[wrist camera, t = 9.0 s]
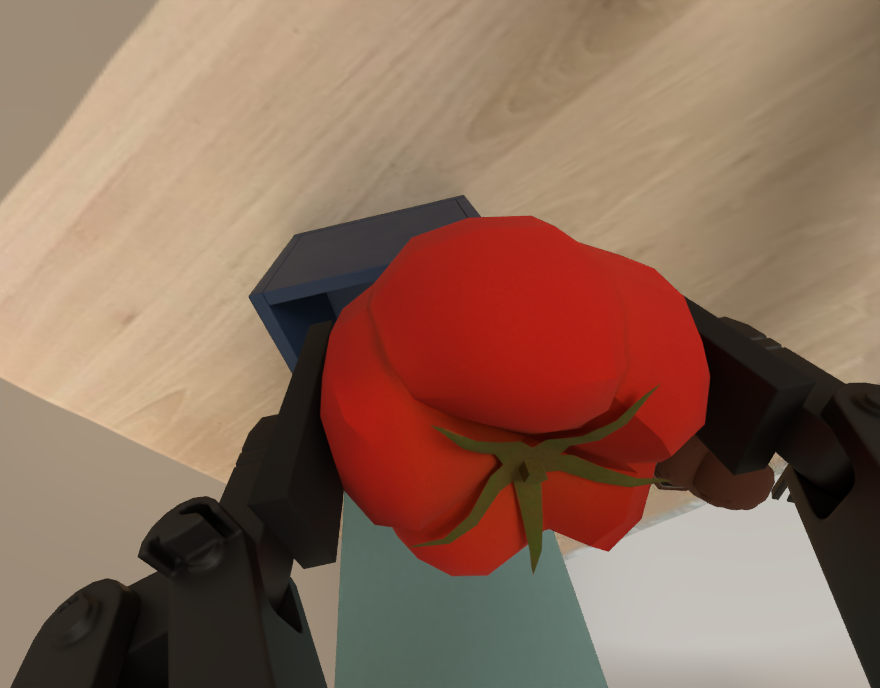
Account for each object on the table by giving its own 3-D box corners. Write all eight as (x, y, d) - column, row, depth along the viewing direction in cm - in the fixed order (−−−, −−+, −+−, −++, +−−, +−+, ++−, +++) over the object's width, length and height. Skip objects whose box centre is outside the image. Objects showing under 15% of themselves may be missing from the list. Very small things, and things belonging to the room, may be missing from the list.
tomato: (418, 433, 16) (436, 637, 10) (290, 273, 11) (170, 475, 5) (616, 349, 15) (782, 525, 9) (568, 123, 10) (870, 151, 4)
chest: (293, 234, 28) (247, 296, 19) (464, 194, 27) (498, 238, 18) (358, 382, 36) (347, 471, 28) (487, 352, 36) (518, 433, 27)
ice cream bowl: (583, 409, 43) (661, 533, 30) (656, 341, 38) (785, 455, 25) (638, 434, 47) (727, 553, 34) (711, 376, 42) (844, 489, 29)
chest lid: (326, 848, 15) (335, 841, 16) (642, 784, 15) (636, 780, 15) (344, 474, 27) (349, 480, 27) (520, 436, 26) (520, 442, 27)
